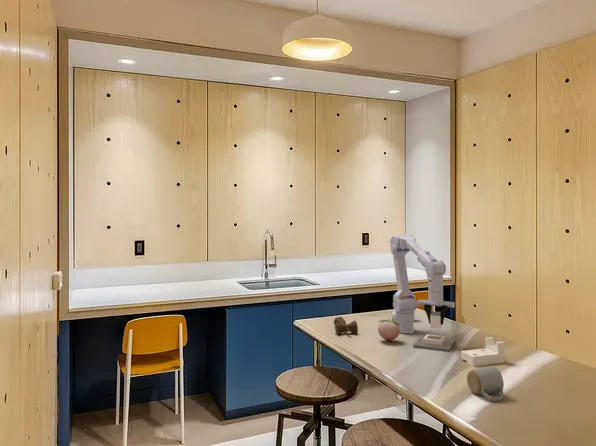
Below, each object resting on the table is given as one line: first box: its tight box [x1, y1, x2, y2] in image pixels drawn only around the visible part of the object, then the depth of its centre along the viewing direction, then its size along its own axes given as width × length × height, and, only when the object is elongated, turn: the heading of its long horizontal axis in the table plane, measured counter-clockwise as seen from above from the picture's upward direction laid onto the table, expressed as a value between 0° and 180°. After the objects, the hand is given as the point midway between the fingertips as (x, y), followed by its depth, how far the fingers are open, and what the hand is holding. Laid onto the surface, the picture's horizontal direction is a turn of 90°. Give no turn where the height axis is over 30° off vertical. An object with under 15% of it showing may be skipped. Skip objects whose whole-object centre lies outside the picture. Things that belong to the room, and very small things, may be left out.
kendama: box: [333, 316, 359, 336], centre depth 212 cm, size 6×10×20 cm
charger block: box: [429, 311, 443, 330], centre depth 190 cm, size 4×4×6 cm
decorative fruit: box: [377, 317, 401, 342], centre depth 195 cm, size 9×8×10 cm
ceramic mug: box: [466, 365, 505, 402], centre depth 138 cm, size 11×8×8 cm
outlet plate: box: [412, 334, 456, 353], centre depth 189 cm, size 14×14×3 cm
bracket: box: [460, 336, 505, 367], centre depth 168 cm, size 13×7×8 cm, turn 104°
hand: (436, 323), depth 190 cm, fingers closed on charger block, 4 cm apart
